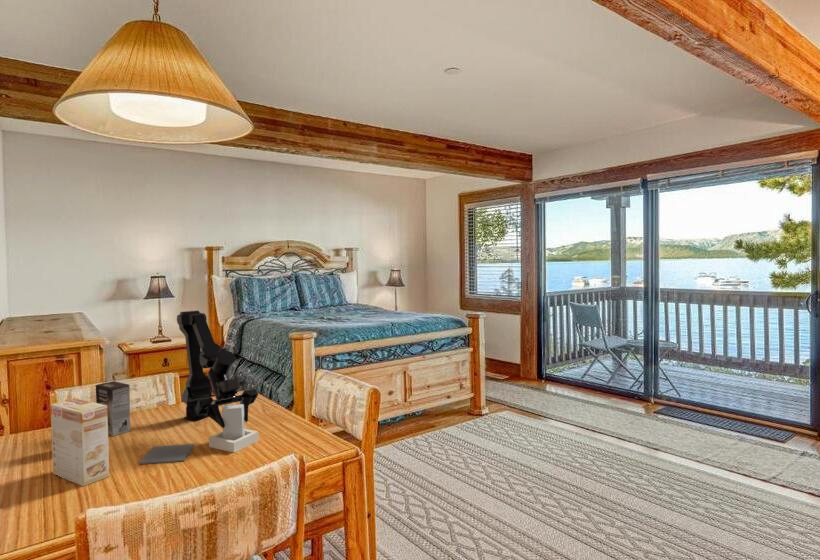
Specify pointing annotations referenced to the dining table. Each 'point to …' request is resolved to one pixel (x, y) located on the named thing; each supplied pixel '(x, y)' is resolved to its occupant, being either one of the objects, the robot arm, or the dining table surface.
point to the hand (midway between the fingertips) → (235, 424)
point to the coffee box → (115, 405)
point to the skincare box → (233, 421)
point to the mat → (167, 454)
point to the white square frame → (230, 445)
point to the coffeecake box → (80, 441)
